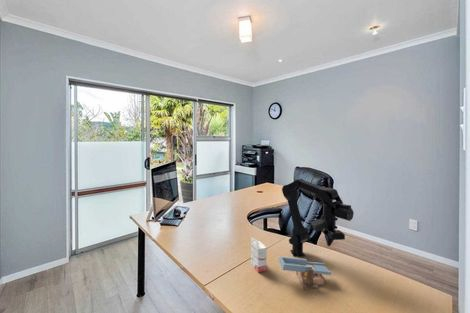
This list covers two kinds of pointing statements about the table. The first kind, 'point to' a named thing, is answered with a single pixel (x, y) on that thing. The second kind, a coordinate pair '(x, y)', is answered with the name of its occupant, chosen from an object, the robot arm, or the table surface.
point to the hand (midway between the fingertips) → (328, 245)
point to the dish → (317, 278)
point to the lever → (302, 265)
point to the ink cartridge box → (258, 255)
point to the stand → (309, 280)
